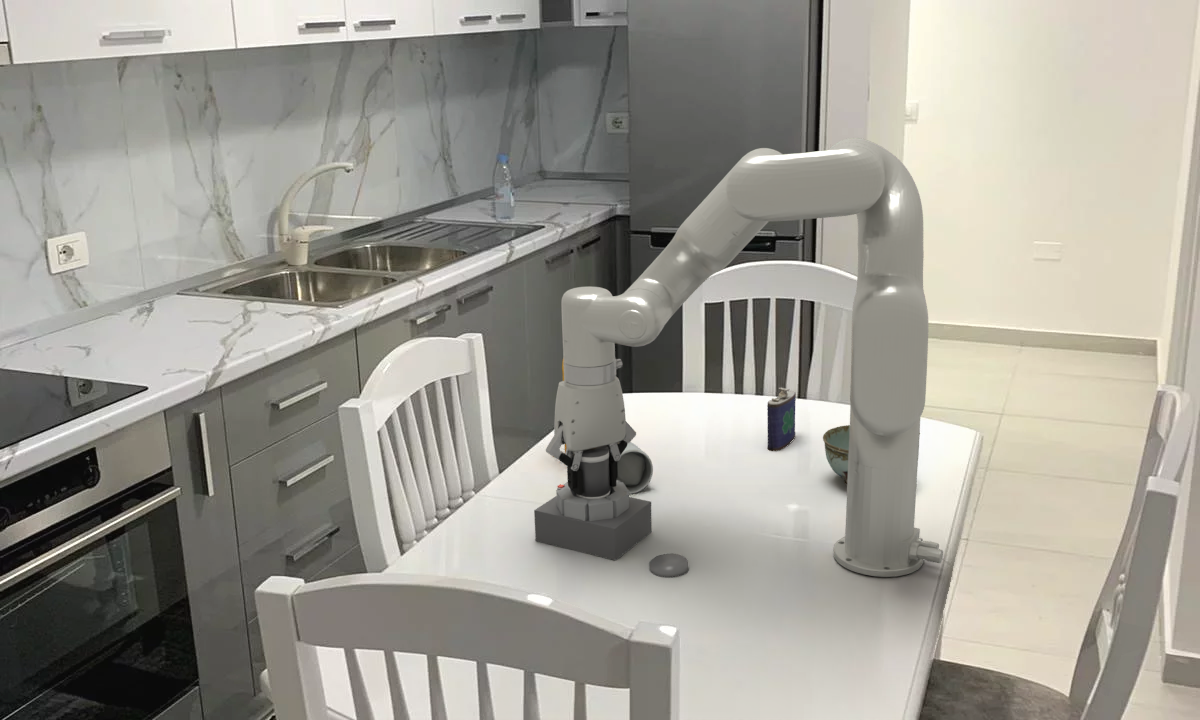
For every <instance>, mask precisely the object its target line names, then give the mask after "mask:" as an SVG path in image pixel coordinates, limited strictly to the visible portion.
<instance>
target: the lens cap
mask: <svg viewBox="0 0 1200 720" xmlns="http://www.w3.org/2000/svg"><path fill="white" fill-rule="evenodd" d="M689 566H690V565H689V560H688V558H686V557H685V556H683V555H681V554H678V553H675V552H674V553H672V552H671V553H670V552H669V553H662V554H661V553H660V554H659V555H656V556H654V557H652V559H650V561H649V563H648V567H649V568H648V569H649V572H650V573H651V574H653V575H655V576H656V577H660V578H668V579H669V578H670V579H671V578H673V579H674V578H678V577H681V576H684V575H686V574H687V573H688V572H689V569H690V568H689Z"/></svg>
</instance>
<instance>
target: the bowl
mask: <svg viewBox="0 0 1200 720" xmlns="http://www.w3.org/2000/svg"><path fill="white" fill-rule="evenodd" d="M849 432H850V424H848V425H839V426H837V427H833V428H830V429H828V430H827V431H825V433H824V434H823V436H822V441H823V442H824V451H825V452H824V453H825V457H826V459H827V463H828V464H829V466H830V468H831V470H832V471H833V472H834V473H835V474H836V475H837V476H838V477H840V478H841V479H843V482H844V484H845V485H846V486H847V479H848V454H849Z"/></svg>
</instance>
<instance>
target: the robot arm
mask: <svg viewBox="0 0 1200 720" xmlns="http://www.w3.org/2000/svg"><path fill="white" fill-rule="evenodd" d="M852 215H856V218H857V250H858V251H857V254H858V255H857V275H856V276H857V278H856V289H855V295H854V296H853V297H854V298H853V302H852V303H853V304H852V312H851V343H850V344H851V348H850V349H851V351H850V353H851V354H850V386H849V387H850V391H849V392H850V394H849V403H850V405H849V406H850V409H849V412H850V413H849V425H850V432H849V454H848V479H847V485H846V506H845V510H846V512H845V533H844V536H843V537H841V538H840V539H838V540H837V541H836V542H835V543H834V545H833V557H834V560H835V561H836V562H837V563H838V564H839V565H840V566H842V567H844V568H845V569H847V570H849V571H851V572H855V573H857V574H861V575H865V576H872V577H878V578H879V577H880V578H893V577H901V576H907V575H909V574H912V573H914V572H916V571H917V570H920V568H921V567H922V566H923V564H924V560H925V561H927V562H931V563H935V564H939V565H940V564H941V563H942V561H943V558H944V551H943V549H940V548H939V547H940V544H939V542H934V541H927V540H923V538H921V537H920V536H921V535H920V533H921V528H918V527H915V516H916V515H915V514H916V499H917V483H918V482H917V481H918V465H919V454H920V452H919V450H920V436H921V435H920V434H921V433H920V432H921V416H922V414H923V412H924V409H925V405H926V393H927V392H926V391H927V375H928V355H929V354H928V353H929V352H928V351H929V311H928V305H927V301H926V296H925V290H924V257H925V256H924V252H925V251H924V214H923V205H922V200H921V196H920V193H919V189H918V186H917V185H916V182H915V180H914V177H912V174H911V173H910V171H909V169H908V168H907V167H906V166H905V164H904V163H903V162H902V161H901V160H900V159H899V158H898V156H896V155H894V154H893V152H891V151H889V149H886V148H884V147H883V146H881V145H879V144H878V143H875V142H873V141H871V140H867V139H864V138H859V137H857V138H855V137H852V138H849V137H848V138H845V139H842V140H839V141H838V142H837V143H835V144H833V145H832V146H831V147H830V148H828V150H817V151H809V152H798V153H797V152H796V153H784V154H783V153H782V152H780V151H778V150H776V149H772V148H770V147H769V148H768V147H761V148H760V147H759V148H756V149H753V150H751V151H748V152H747V153H746V154H745V155H743V156H742V157H741V158H740V160H738V161H737V163H735V165H734V166H733V167H732V168H731V169H730V170H729V171H728V172H727V174H726V175H725V176H724V177H723V178H722V179H721V180H720V181H719V182H718V184H717V185H716V186H715V187H714V188H713V189H712V190H711V192H709V194H708V195H707V196H706V197H705V198H704V199H703V200H702V202H700V203H699V205H698V206H697V207H696V208H695V209H694V210H693V211H692V212H691V213H690V214H689V216H687V217H686V219H685V220H684V221H683V222H682V223H681V225H680V226H679V227H678V229H677V231H676V232H675V234H674V236H673V237H672V239H671V240H670V242H669V243H668V244H667V246H665V248H664V249H663V250H662V251H661V252H660V253H659V254H658V256H657V257H655V259H654V260H653V261H652V263H650V265H648V266H647V268H646V269H645V270H644V271H643V273H641V275H639V276H638V278H637V279H636V280H635V281H634V282H632V284H631V285H630V286H629V287H628V288H627V289H626V290H625V291H624V292H623V293H622V294H619V295H615V296H613V294H612V293H611V291H609V290H608V289H606V288H603V287H599V286H579V287H573V288H570V289H568V290H566V291H565V292H564V293H563V295H562V297H561V302H560V303H561V329H562V331H561V333H562V355H563V358H562V362H563V363H564V381H563V380H562V381H559V383H558V387H557V391H556V397H555V404H554V425H553V428H554V429H553V430H554V431H553V432H554V435H553V436H552V439H551V440H550V442H549V443H548V445H547V447H546V448H545V452H546V453H547V454H548V455H550V456H552V457H553V458H554V459H556V460H558V461H560V462H561V463H563V464H564V466H566V472H567V482H568V486H569V488H570V489H571V490H572V491H573V492H575V493H576V494H578V495H582V494H583V471H582V470H581V469H580V468H579V465H580V461H581V456H582V452H583V450H588V449H592V448H597V447H601V446H608V448H609V479H610V486H612V487H615V486H616V478H617V477H618V465H617V461H619V460H620V458H621V454H622V452H623V451H624V450H625V448H626V447H627V444H628V443H630V442H632V440H633V439H634V438H636V435H637V432H636V431H635V430H634V428H633V427H632V426H631V424H629V423H628V422H627V421H626V408H625V407H626V406H625V401H624V400H625V399H624V395H623V390H622V386H621V382H620V379H619V377H617V370H618V369H621V368H623V361H622V359H621V358H617V357H616V351H615V350H616V348H615V346H616V345H615V344H617V345H621V346H622V345H623V346H628V347H634V348H635V347H636V348H637V347H643V346H647V345H649V344H651V343H652V342H653V341H655V340H656V339H657V337H658V336H659V335H660V333H661V332H662V330H663V329H664V327H665V326H666V324H667V323H668V322H669V320H670V319H671V318H672V316H673V315H674V314H675V313H676V312H677V311H678V310H679V309H680V307H682V306H683V304H684V303H685V302H686V301H687V300H688V299H689V298H690V297H692V295H693V294H694V293H695V291H697V290H698V289H699V288H700V286H702V285H703V284H704V282H706V281H707V280H708V279H709V278H710V277H711V276H712V275H715V274H716V273H718V272H721V271H722V270H724V269H725V268H726V267H727V266H728V265H730V264H731V262H732V261H733V260H734V259H735V258H736V257H737V256H738V255H739V254H740V253H741V252H742V251H743V249H744V248H745V247H746V246H748V244H749V243H750V242H751V241H752V240H753V239H754V238H755V236H757V234H758V233H759V232H760V231H761V230H762V229H763V228H764V227H765V226H766V225H767V224H768V223H770V222H785V221H786V222H787V221H789V222H790V221H800V220H812V219H823V218H825V219H826V218H827V219H828V218H838V217H839V218H840V217H848V216H852ZM563 359H564V361H563ZM565 444H566V447H567V448H566V452H565V451H564V452H562V451H561V449H560V448H561V446H563V445H565Z"/></svg>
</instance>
